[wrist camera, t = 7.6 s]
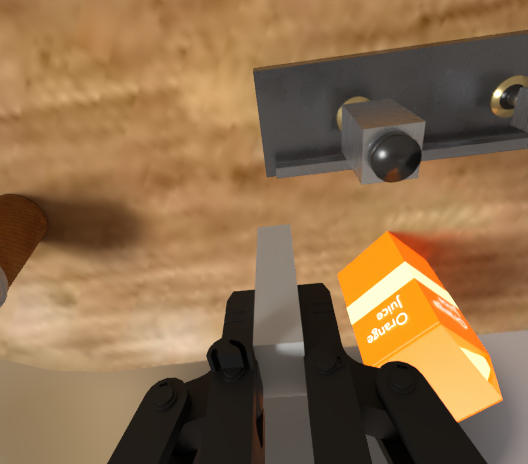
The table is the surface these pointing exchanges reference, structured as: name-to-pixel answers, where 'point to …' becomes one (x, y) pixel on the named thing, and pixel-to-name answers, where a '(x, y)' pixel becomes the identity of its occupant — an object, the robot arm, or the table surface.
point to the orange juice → (416, 325)
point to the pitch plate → (397, 100)
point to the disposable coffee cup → (17, 236)
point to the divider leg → (382, 141)
